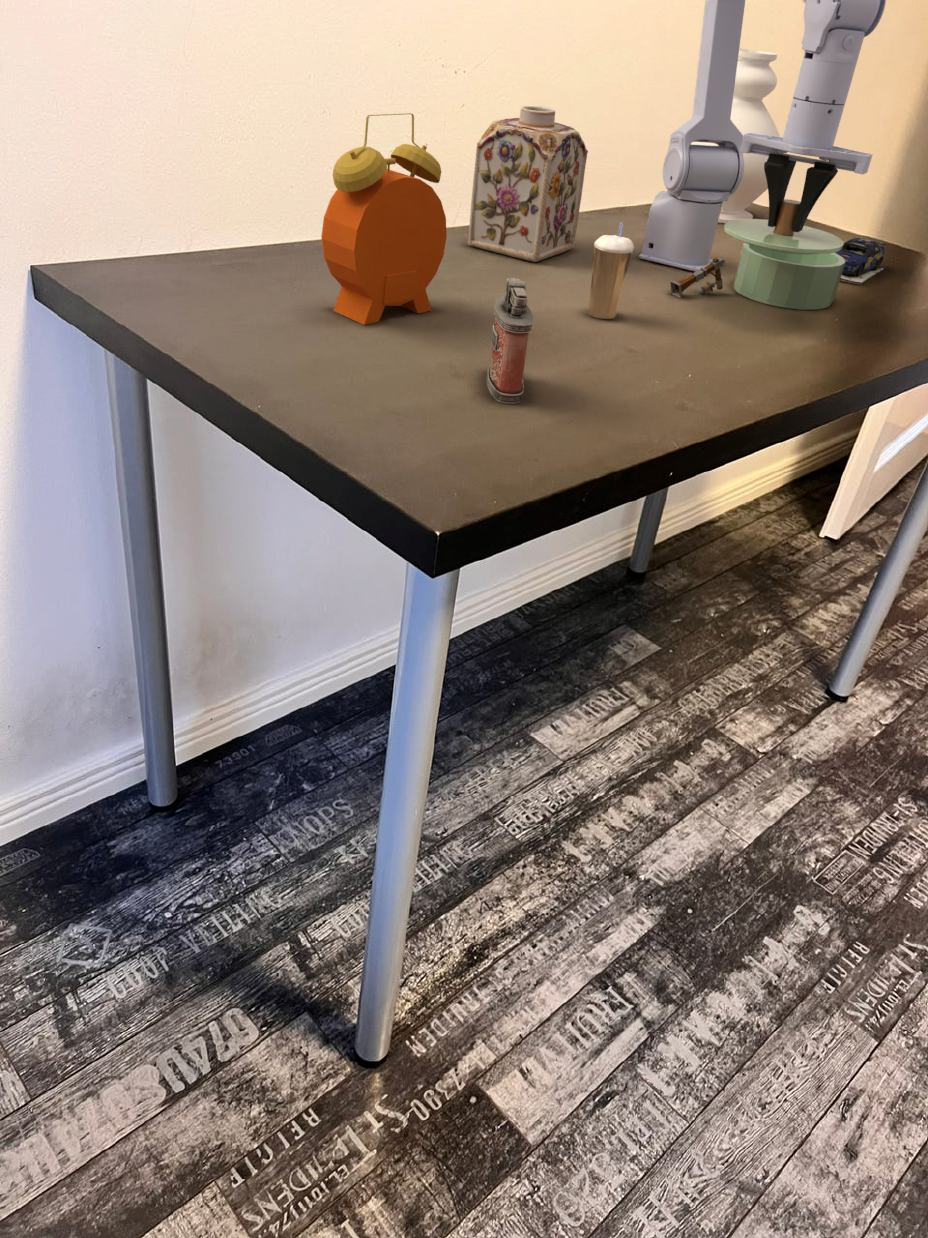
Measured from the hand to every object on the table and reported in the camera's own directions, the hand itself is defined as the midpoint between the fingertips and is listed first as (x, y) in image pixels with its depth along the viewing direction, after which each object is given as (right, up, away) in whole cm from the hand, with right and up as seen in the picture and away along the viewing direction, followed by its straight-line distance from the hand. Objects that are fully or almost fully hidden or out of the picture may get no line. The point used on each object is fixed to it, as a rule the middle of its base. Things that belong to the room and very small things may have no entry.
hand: (784, 227), depth 115 cm
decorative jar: (-30, +6, +22) cm, 38 cm away
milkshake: (-22, -10, 0) cm, 24 cm away
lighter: (-35, -25, -22) cm, 48 cm away
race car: (+20, +5, +29) cm, 35 cm away
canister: (+5, -3, +15) cm, 16 cm away
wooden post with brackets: (-8, -4, +11) cm, 15 cm away
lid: (0, -1, +1) cm, 1 cm away
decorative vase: (+6, +24, +54) cm, 59 cm away
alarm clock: (-48, -12, -6) cm, 50 cm away
